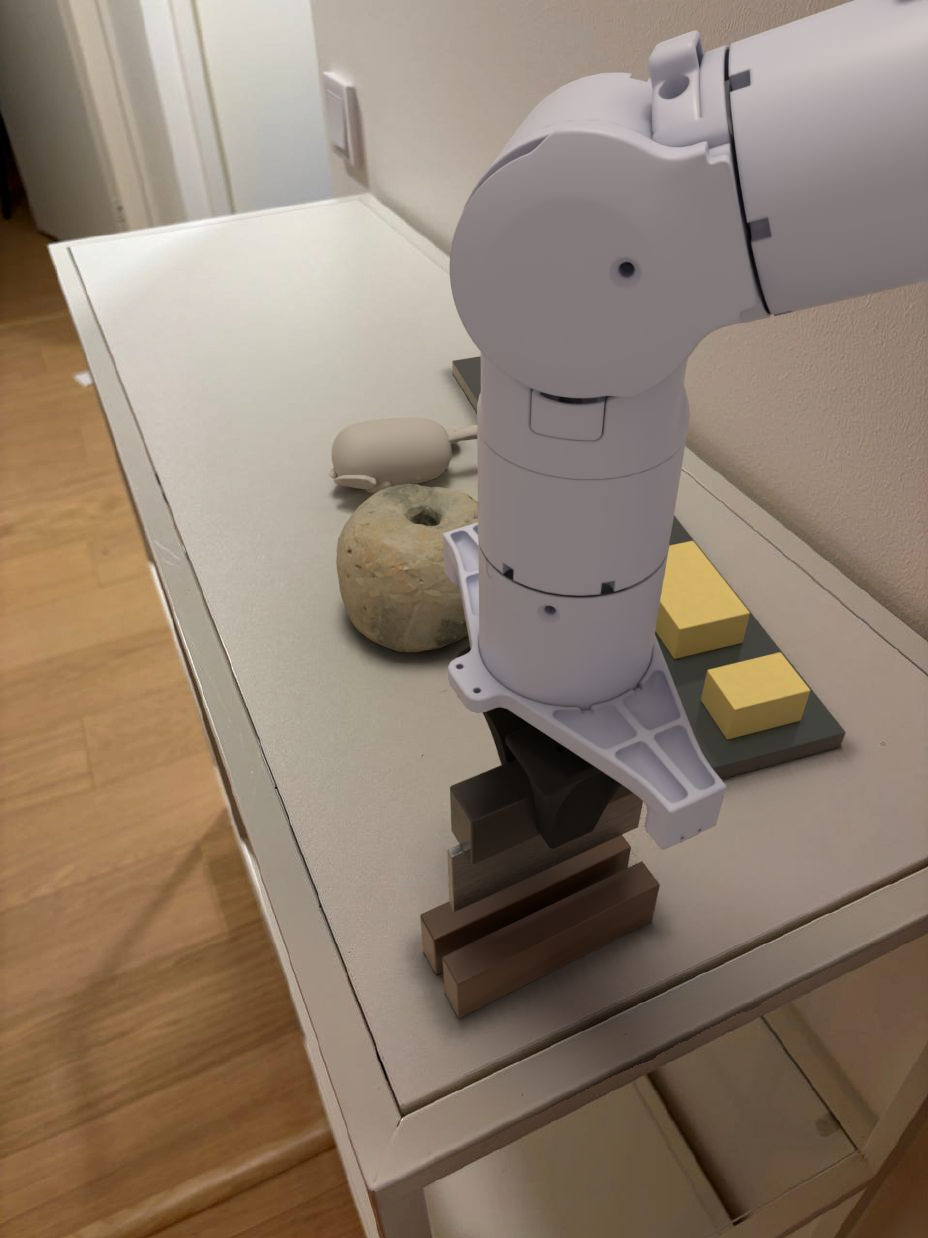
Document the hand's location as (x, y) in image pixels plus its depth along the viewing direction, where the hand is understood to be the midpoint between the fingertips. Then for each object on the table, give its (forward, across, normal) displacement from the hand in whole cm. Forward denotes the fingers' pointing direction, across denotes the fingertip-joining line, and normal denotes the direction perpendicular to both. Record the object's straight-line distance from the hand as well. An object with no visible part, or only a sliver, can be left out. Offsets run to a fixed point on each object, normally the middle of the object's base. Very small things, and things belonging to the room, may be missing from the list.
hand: (552, 810), depth 38 cm
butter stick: (+8, -14, +18) cm, 23 cm away
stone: (+9, -22, +5) cm, 25 cm away
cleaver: (+4, 0, 0) cm, 4 cm away
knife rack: (+9, 0, 0) cm, 9 cm away
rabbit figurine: (+9, -36, +10) cm, 39 cm away
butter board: (+9, -25, +20) cm, 33 cm away
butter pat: (+8, -6, +16) cm, 19 cm away
